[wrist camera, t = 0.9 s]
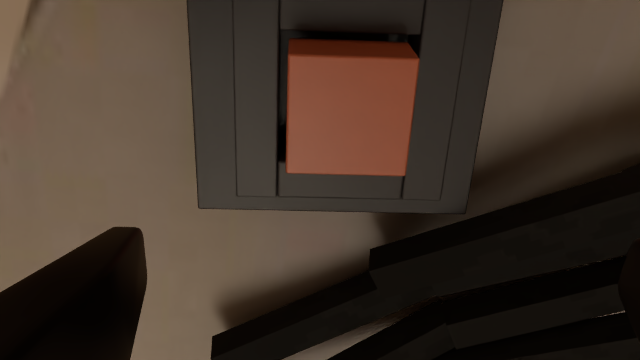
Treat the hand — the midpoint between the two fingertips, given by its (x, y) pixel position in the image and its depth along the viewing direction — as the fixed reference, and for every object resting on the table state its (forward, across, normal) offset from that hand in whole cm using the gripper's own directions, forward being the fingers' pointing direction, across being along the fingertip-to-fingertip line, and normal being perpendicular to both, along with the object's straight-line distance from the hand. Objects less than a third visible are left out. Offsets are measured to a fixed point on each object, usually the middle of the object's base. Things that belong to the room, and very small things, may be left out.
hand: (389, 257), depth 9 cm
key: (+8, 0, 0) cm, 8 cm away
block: (+11, 0, 0) cm, 11 cm away
